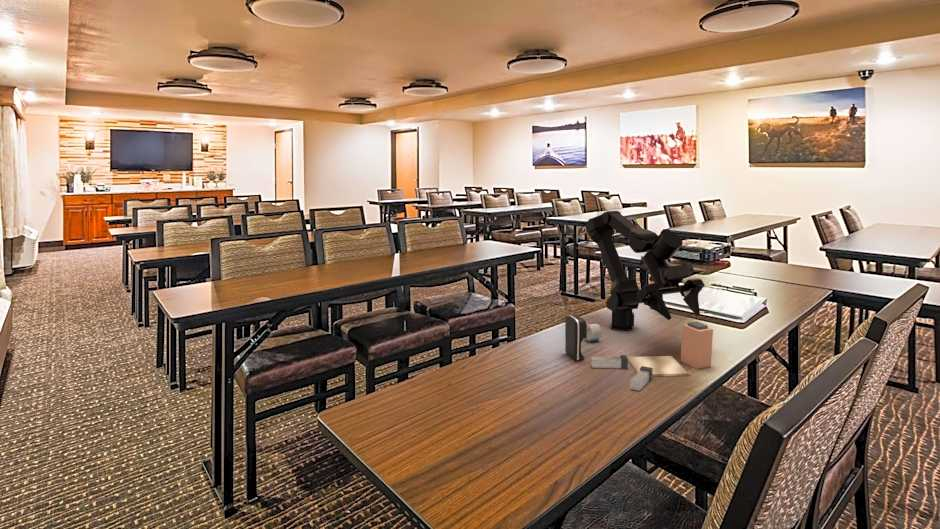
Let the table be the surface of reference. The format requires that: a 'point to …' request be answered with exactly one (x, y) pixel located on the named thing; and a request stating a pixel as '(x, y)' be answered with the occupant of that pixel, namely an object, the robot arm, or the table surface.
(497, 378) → the table surface
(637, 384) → the shaft front
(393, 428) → the table surface
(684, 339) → the peach upright block
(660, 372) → the pad
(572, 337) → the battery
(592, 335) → the electric motor
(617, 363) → the shaft side
